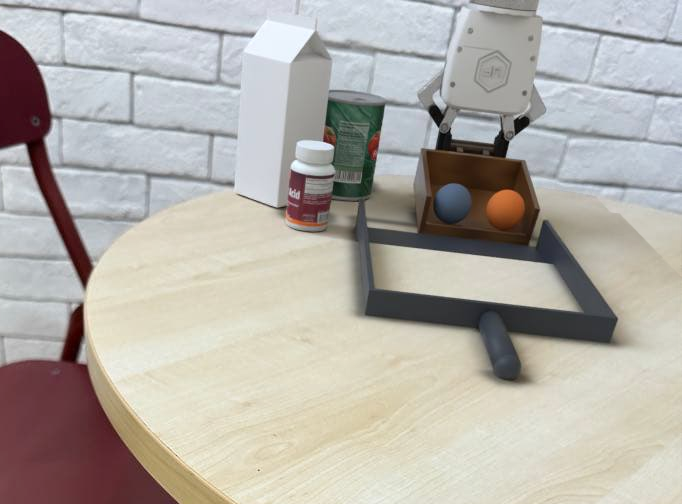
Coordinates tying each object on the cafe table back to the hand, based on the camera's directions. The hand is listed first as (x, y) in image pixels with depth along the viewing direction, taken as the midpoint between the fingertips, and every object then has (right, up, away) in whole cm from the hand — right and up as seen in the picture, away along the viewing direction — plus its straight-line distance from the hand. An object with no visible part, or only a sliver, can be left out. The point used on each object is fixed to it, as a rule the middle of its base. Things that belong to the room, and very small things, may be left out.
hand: (466, 168), depth 104 cm
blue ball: (-4, -8, -9) cm, 13 cm away
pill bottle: (-20, -11, -10) cm, 25 cm away
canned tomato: (-15, -2, +3) cm, 16 cm away
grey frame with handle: (-5, -23, -24) cm, 34 cm away
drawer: (-1, -6, -3) cm, 7 cm away
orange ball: (+2, -9, -9) cm, 13 cm away
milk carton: (-24, -5, -2) cm, 24 cm away
